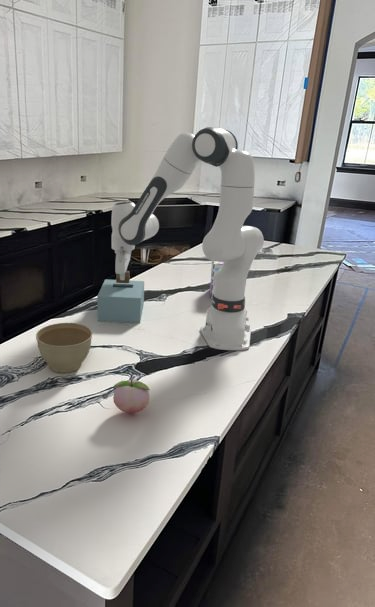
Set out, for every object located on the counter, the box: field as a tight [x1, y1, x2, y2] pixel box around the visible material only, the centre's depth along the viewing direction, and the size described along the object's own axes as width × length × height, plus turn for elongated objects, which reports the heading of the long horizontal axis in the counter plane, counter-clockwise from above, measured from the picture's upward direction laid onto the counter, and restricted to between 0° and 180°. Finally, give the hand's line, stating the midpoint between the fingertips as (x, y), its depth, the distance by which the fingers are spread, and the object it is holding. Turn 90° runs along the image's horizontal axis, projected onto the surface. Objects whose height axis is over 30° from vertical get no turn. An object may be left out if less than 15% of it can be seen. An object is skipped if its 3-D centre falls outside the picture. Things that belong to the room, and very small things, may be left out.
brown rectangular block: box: [115, 270, 131, 283], centre depth 179 cm, size 2×5×4 cm, turn 92°
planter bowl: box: [35, 322, 93, 374], centre depth 136 cm, size 16×16×11 cm
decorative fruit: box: [112, 378, 151, 414], centre depth 116 cm, size 9×8×10 cm
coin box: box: [96, 279, 145, 324], centre depth 179 cm, size 20×16×10 cm
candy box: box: [209, 261, 224, 300], centre depth 204 cm, size 14×6×16 cm, turn 179°
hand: (123, 278), depth 179 cm, fingers closed on brown rectangular block, 2 cm apart
